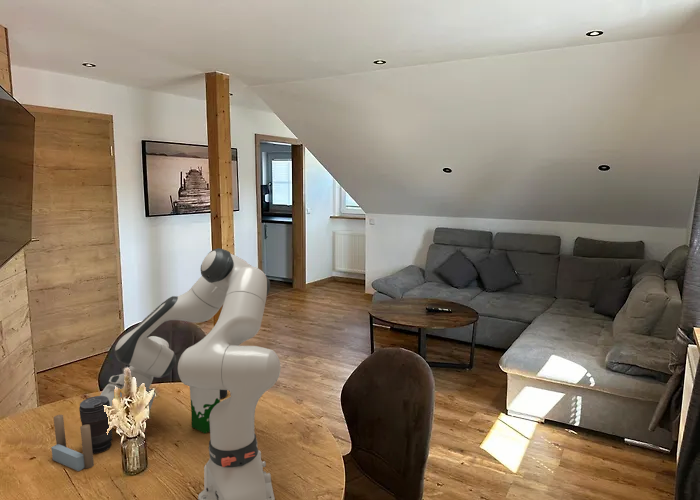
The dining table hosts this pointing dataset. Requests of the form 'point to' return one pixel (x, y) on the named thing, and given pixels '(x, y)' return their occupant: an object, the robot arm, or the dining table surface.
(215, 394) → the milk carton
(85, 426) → the peg rail
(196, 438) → the dining table surface
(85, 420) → the camera lens
